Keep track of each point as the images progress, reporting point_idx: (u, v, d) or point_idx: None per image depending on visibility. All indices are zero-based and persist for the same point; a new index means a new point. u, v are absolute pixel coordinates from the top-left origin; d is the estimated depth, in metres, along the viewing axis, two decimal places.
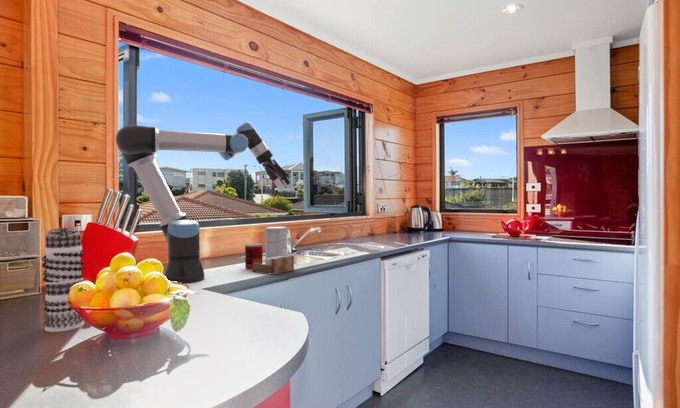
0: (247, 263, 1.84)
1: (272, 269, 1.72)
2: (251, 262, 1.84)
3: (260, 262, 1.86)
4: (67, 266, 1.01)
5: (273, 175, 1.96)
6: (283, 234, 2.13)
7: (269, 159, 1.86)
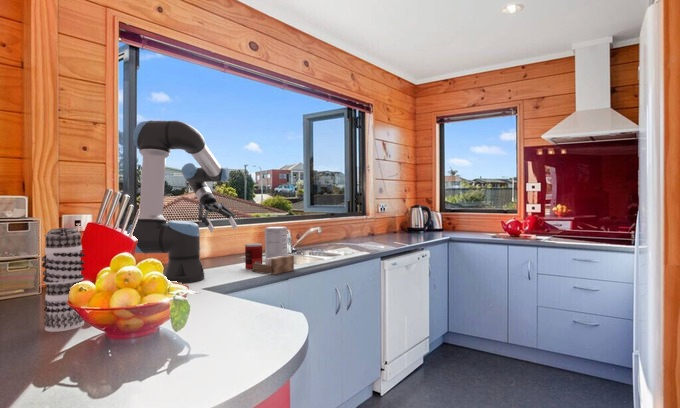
0: (247, 263, 1.84)
1: (272, 269, 1.72)
2: (251, 262, 1.84)
3: (260, 262, 1.86)
4: (67, 266, 1.01)
5: None
6: (283, 234, 2.13)
7: None
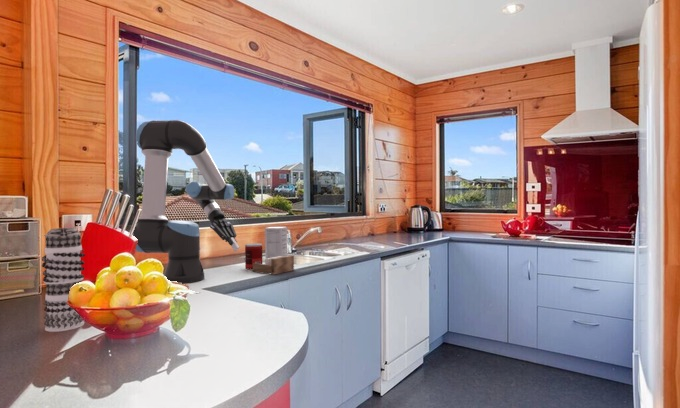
0: (247, 263, 1.84)
1: (272, 269, 1.72)
2: (251, 262, 1.84)
3: (260, 262, 1.86)
4: (67, 266, 1.01)
5: None
6: (283, 234, 2.13)
7: None
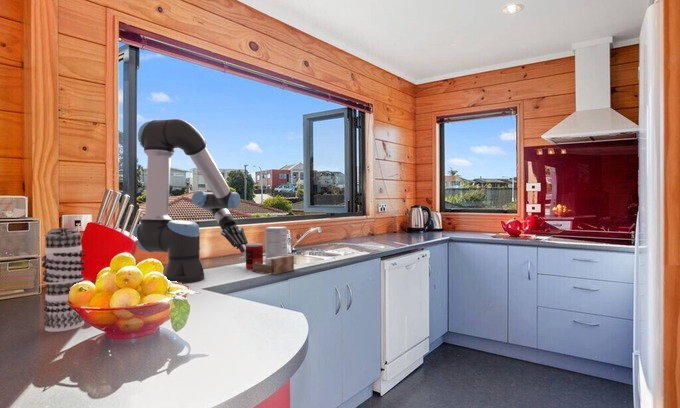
0: (247, 263, 1.84)
1: (272, 269, 1.72)
2: (251, 262, 1.84)
3: (260, 262, 1.86)
4: (67, 266, 1.01)
5: None
6: (283, 234, 2.13)
7: None
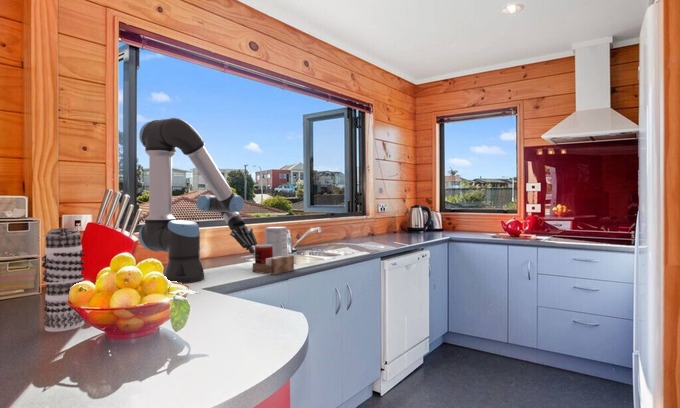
0: None
1: (272, 269, 1.72)
2: None
3: None
4: (67, 266, 1.01)
5: None
6: (283, 234, 2.13)
7: None
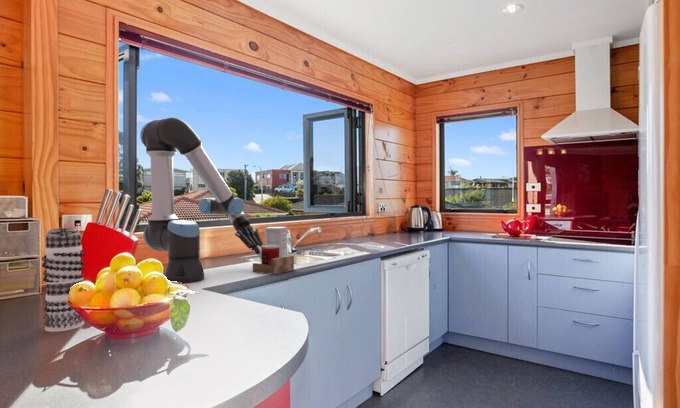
0: None
1: (272, 269, 1.72)
2: None
3: None
4: (67, 266, 1.01)
5: None
6: (283, 234, 2.13)
7: None
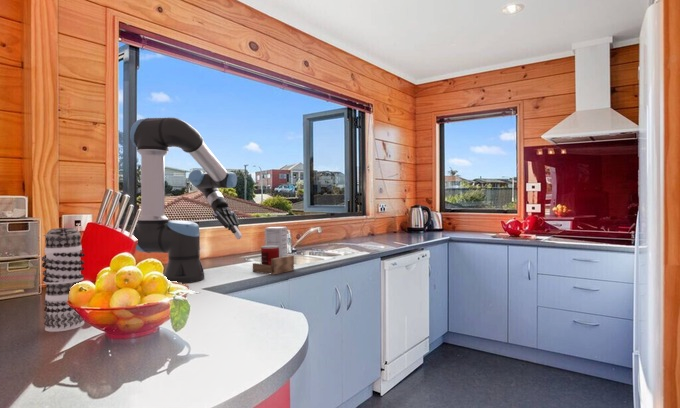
0: None
1: (272, 269, 1.72)
2: None
3: None
4: (67, 266, 1.01)
5: None
6: (283, 234, 2.13)
7: None
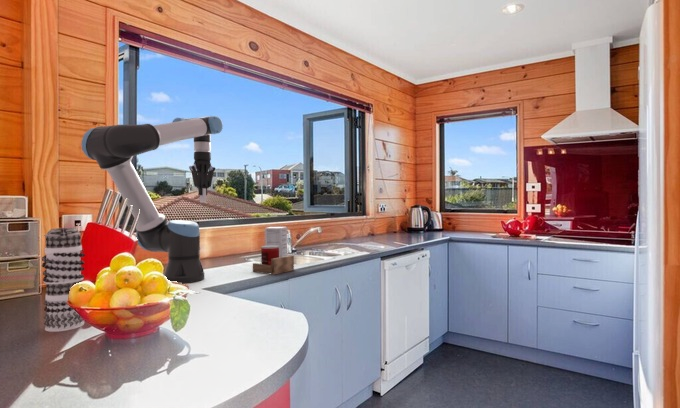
0: None
1: (272, 269, 1.72)
2: None
3: None
4: (67, 266, 1.01)
5: None
6: (283, 234, 2.13)
7: None
